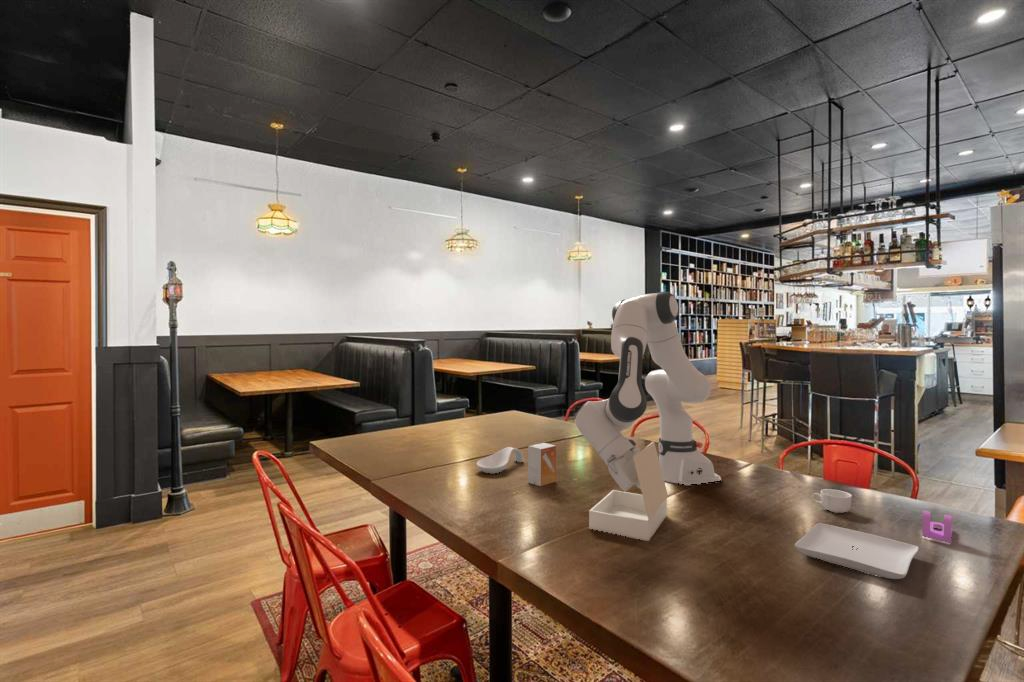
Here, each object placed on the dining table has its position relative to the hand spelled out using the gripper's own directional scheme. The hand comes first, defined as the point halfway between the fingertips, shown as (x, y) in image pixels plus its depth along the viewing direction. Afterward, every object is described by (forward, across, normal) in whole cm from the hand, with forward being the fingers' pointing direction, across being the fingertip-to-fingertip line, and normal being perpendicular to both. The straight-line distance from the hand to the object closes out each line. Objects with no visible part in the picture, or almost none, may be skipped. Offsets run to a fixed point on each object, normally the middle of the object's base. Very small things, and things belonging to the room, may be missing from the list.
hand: (651, 492), depth 136 cm
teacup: (+37, +39, -24) cm, 59 cm away
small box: (-24, +20, +38) cm, 49 cm away
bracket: (+53, +33, -40) cm, 75 cm away
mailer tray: (+2, 0, +11) cm, 11 cm away
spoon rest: (-39, +29, +53) cm, 72 cm away
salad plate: (+40, +6, -26) cm, 48 cm away
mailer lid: (-3, 0, -3) cm, 4 cm away
